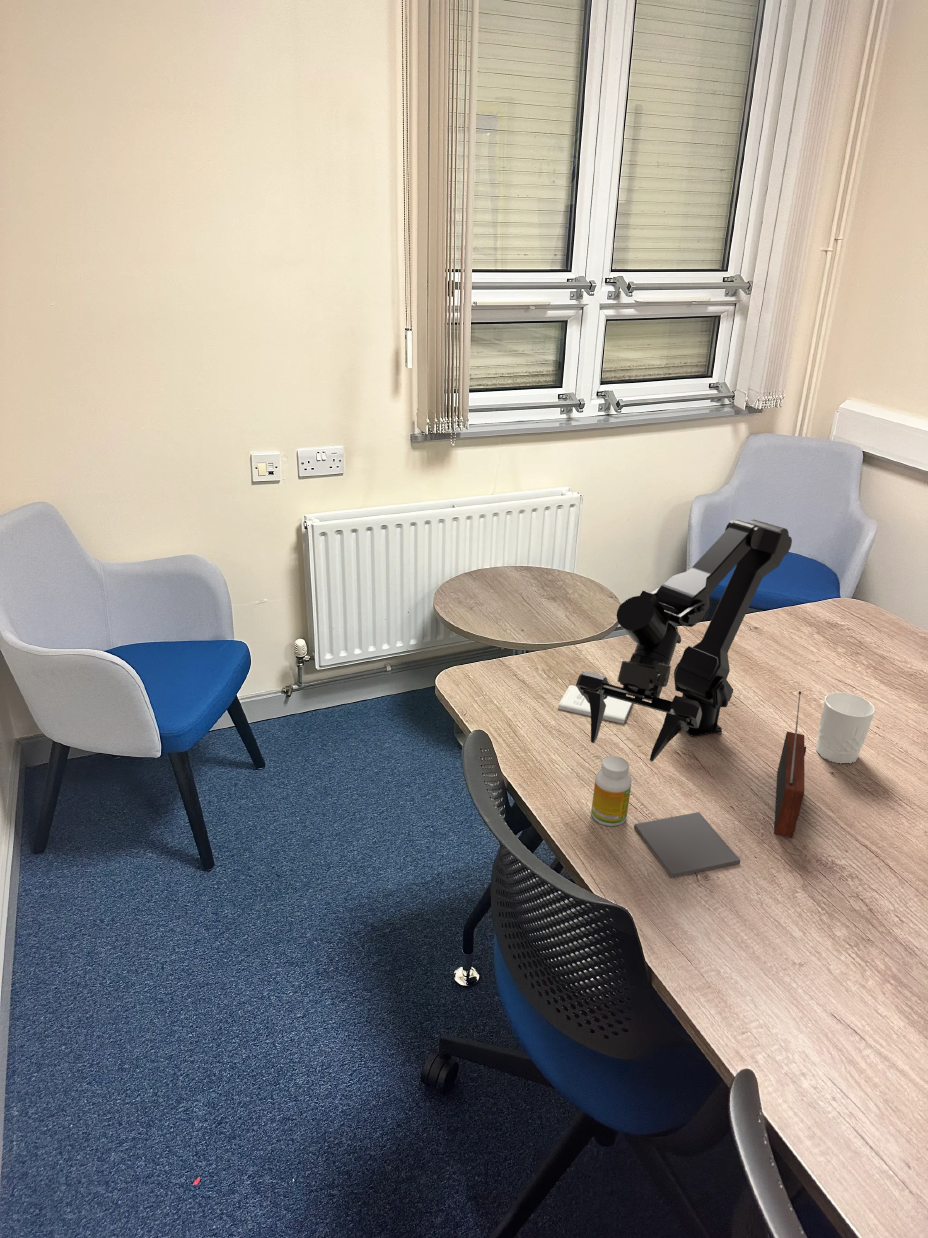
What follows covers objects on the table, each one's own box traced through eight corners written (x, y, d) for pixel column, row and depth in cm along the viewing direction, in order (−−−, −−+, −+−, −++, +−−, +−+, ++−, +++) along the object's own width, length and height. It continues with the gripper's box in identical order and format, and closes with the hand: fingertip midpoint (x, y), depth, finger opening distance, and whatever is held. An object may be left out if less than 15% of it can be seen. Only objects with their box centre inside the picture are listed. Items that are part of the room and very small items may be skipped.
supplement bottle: (625, 829, 125) (633, 776, 120) (589, 824, 126) (596, 771, 121) (626, 807, 129) (634, 755, 125) (592, 802, 130) (598, 750, 126)
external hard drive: (623, 726, 151) (557, 711, 155) (633, 705, 158) (569, 690, 162) (624, 719, 151) (558, 703, 155) (634, 697, 158) (570, 683, 162)
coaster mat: (698, 815, 128) (698, 812, 128) (739, 863, 119) (740, 860, 119) (634, 827, 125) (634, 824, 125) (671, 877, 116) (672, 874, 116)
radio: (795, 840, 124) (817, 756, 117) (773, 835, 125) (794, 751, 118) (796, 771, 140) (815, 693, 133) (777, 767, 141) (795, 690, 134)
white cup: (861, 747, 146) (875, 698, 142) (860, 771, 140) (874, 721, 136) (813, 736, 149) (826, 687, 145) (810, 759, 143) (823, 709, 139)
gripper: (586, 623, 127) (552, 719, 122) (709, 654, 119) (678, 757, 115) (598, 649, 136) (567, 739, 132) (713, 679, 129) (684, 775, 124)
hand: (621, 751), depth 126 cm, fingers open, 9 cm apart
